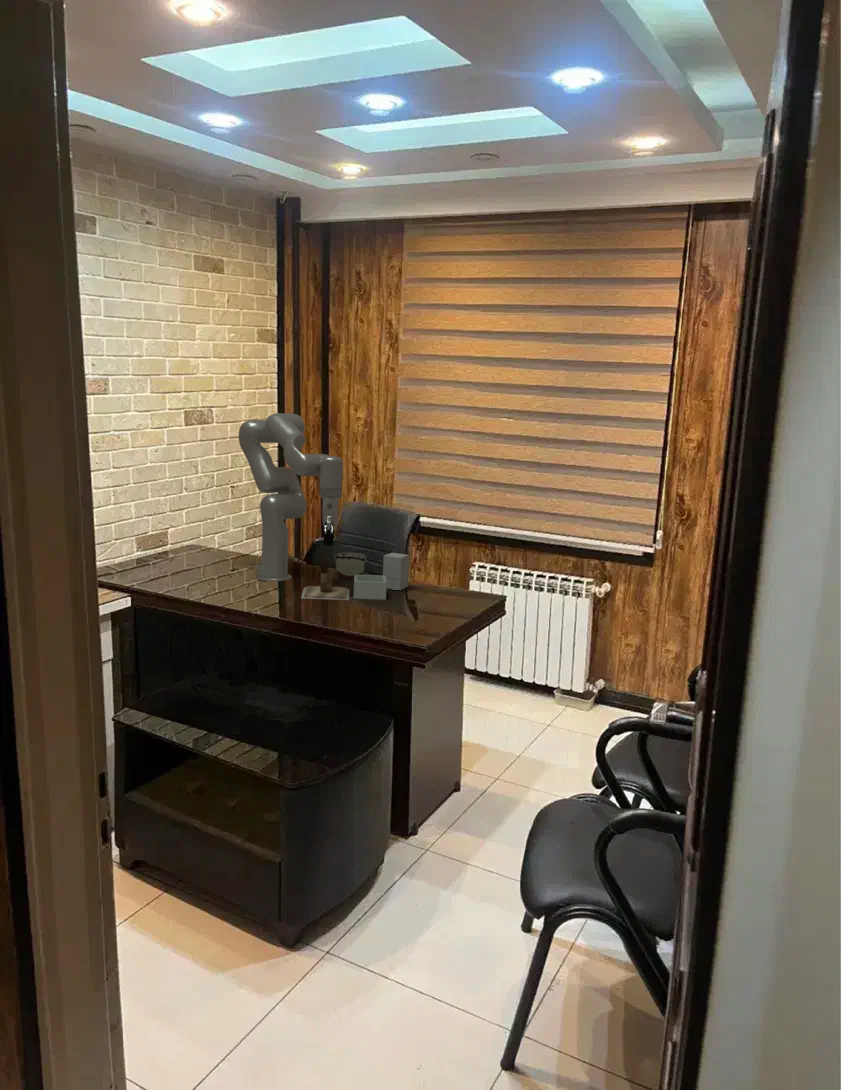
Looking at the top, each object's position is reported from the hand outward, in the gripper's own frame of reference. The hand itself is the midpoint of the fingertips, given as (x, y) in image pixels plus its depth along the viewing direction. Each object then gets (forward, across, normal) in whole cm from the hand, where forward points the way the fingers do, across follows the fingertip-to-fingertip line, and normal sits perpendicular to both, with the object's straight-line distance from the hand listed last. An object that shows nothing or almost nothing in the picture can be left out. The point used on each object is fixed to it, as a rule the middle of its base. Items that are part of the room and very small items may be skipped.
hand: (328, 542), depth 280 cm
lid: (+18, 0, 0) cm, 18 cm away
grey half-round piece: (+19, +25, -8) cm, 33 cm away
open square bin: (+18, 0, -15) cm, 24 cm away
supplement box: (+19, +14, -24) cm, 34 cm away
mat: (+18, 0, 0) cm, 18 cm away
